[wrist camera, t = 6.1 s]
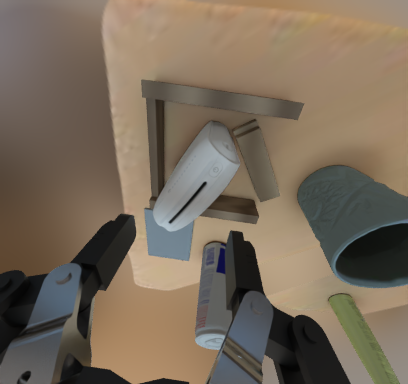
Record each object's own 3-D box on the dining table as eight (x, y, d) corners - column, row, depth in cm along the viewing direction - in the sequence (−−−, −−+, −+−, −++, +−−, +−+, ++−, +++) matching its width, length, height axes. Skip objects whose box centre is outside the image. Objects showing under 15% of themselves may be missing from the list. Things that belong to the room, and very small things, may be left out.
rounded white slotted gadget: (211, 112, 21) (204, 136, 10) (237, 134, 22) (253, 175, 11) (170, 171, 25) (136, 227, 15) (193, 186, 27) (176, 249, 16)
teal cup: (373, 195, 25) (479, 268, 15) (307, 225, 29) (354, 299, 19) (348, 145, 21) (465, 195, 11) (277, 187, 26) (315, 252, 15)
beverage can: (205, 259, 36) (198, 350, 24) (201, 241, 33) (189, 335, 21) (231, 257, 35) (238, 352, 23) (228, 239, 32) (234, 336, 20)
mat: (194, 215, 30) (194, 216, 29) (189, 259, 37) (188, 261, 36) (145, 207, 30) (144, 209, 29) (149, 253, 37) (148, 255, 36)
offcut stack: (254, 118, 21) (259, 122, 18) (275, 187, 26) (281, 197, 23) (232, 129, 22) (234, 134, 19) (256, 193, 27) (260, 204, 24)
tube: (322, 302, 42) (389, 442, 25) (329, 292, 39) (410, 440, 23) (346, 304, 41) (430, 447, 25) (355, 293, 39) (456, 446, 22)
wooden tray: (289, 100, 19) (304, 103, 16) (251, 207, 28) (256, 224, 24) (154, 81, 19) (141, 79, 16) (158, 193, 28) (149, 208, 25)
